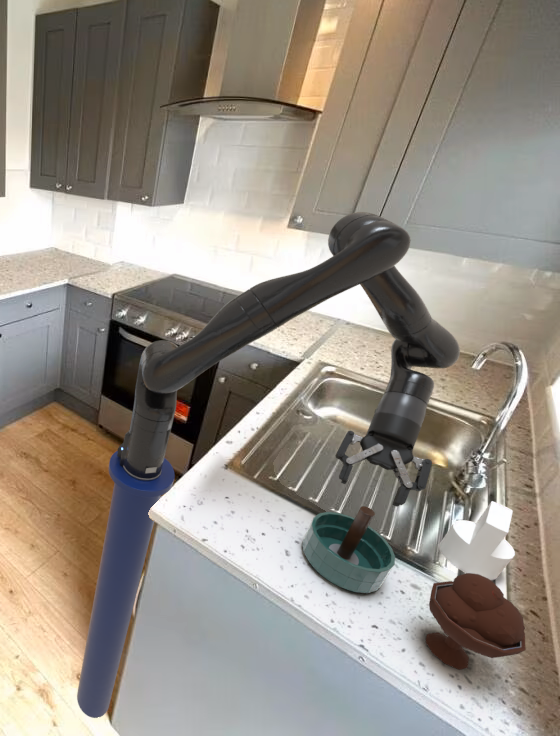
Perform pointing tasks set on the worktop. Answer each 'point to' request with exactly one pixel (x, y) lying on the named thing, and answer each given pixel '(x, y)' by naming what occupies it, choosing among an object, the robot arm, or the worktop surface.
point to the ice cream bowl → (473, 621)
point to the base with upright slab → (480, 543)
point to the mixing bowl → (356, 578)
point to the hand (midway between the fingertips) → (368, 493)
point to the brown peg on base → (354, 535)
